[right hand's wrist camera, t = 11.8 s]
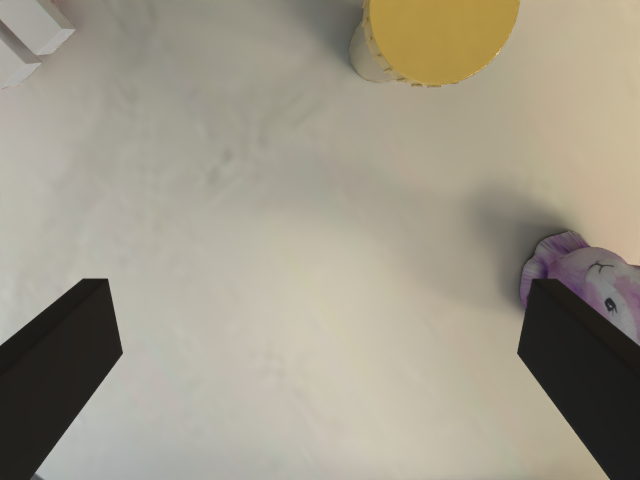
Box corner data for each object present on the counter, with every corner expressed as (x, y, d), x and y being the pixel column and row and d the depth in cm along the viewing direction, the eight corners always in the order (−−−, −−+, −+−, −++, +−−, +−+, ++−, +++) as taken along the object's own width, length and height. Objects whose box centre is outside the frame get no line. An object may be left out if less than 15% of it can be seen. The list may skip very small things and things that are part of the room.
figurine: (544, 210, 36) (684, 285, 22) (632, 259, 38) (815, 359, 24) (482, 294, 39) (571, 408, 25) (566, 336, 41) (695, 466, 27)
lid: (387, 108, 19) (396, 110, 16) (340, -26, 17) (344, -45, 14) (510, 55, 18) (538, 50, 16) (475, -91, 16) (501, -122, 14)
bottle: (361, 92, 33) (402, 93, 16) (340, 32, 32) (360, -33, 15) (416, 67, 33) (517, 43, 16) (397, 6, 31) (486, -93, 14)
